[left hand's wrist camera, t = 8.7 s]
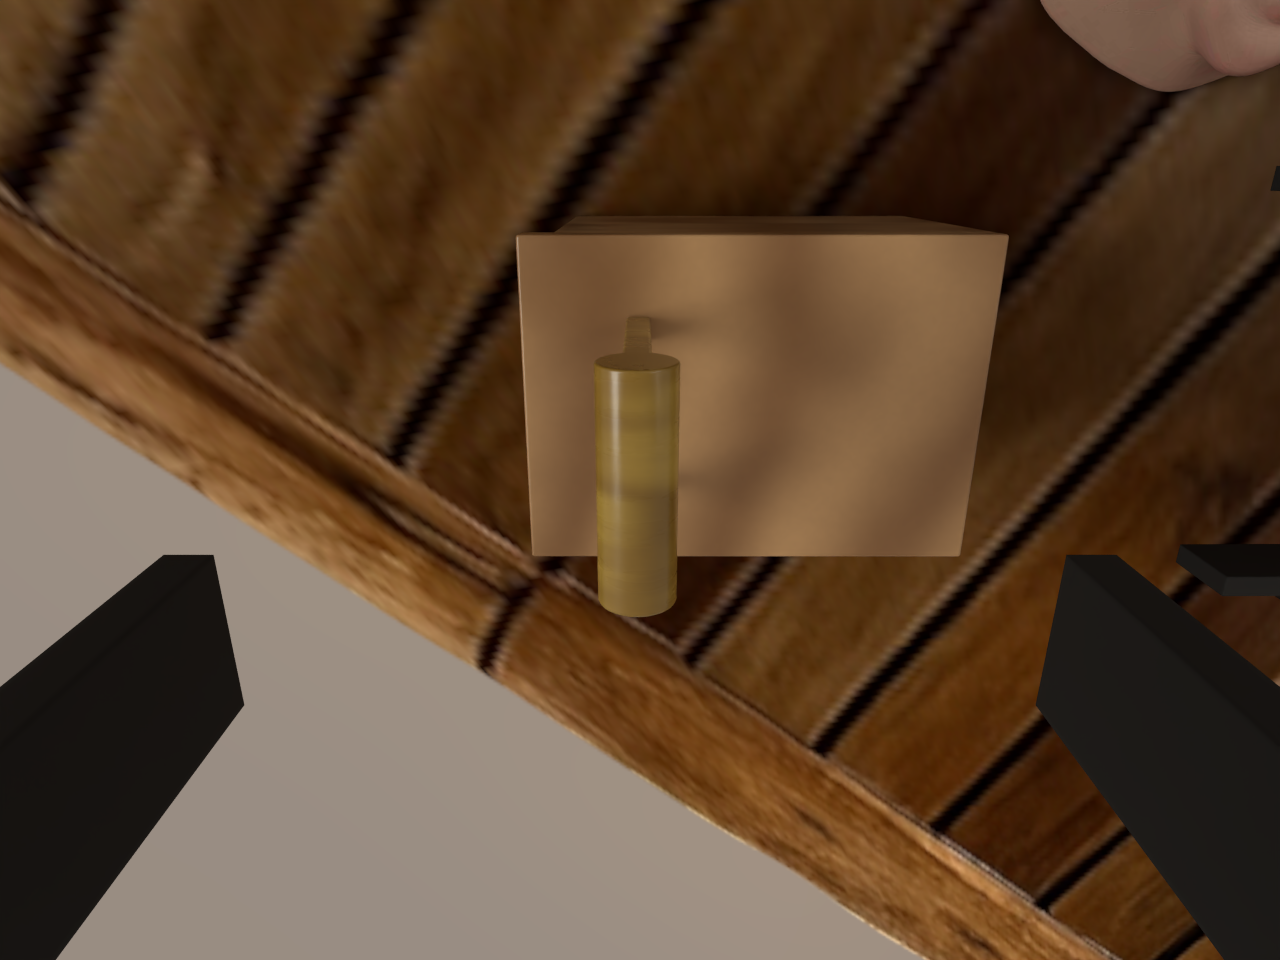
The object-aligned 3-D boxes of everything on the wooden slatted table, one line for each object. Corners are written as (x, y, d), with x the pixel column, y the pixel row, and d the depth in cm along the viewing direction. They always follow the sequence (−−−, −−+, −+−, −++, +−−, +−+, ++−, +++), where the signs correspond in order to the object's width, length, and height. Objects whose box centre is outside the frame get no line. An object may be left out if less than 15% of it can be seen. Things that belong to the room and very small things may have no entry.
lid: (535, 545, 27) (492, 696, 20) (519, 232, 24) (459, 262, 16) (951, 545, 27) (1076, 697, 20) (998, 232, 24) (1174, 262, 16)
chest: (582, 456, 36) (564, 545, 27) (576, 215, 32) (553, 232, 24) (877, 456, 36) (951, 545, 27) (903, 215, 32) (997, 232, 24)
